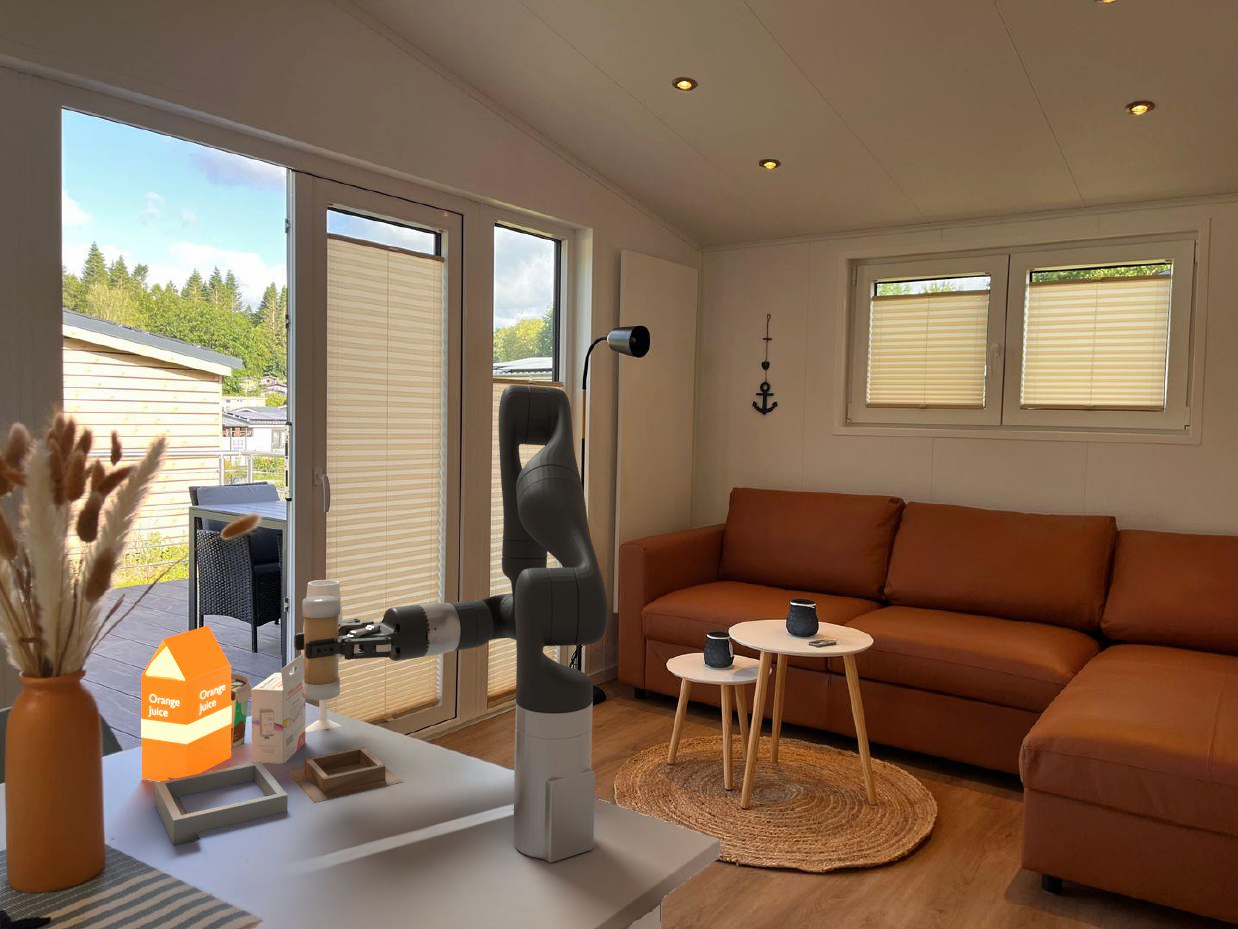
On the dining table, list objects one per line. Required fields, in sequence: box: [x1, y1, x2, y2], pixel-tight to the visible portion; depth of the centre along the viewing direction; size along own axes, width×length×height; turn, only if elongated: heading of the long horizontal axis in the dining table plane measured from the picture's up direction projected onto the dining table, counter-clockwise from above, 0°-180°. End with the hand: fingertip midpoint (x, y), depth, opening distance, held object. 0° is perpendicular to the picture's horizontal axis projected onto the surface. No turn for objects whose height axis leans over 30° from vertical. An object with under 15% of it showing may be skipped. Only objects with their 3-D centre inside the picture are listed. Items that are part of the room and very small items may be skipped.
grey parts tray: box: [154, 761, 288, 846], centre depth 114 cm, size 13×13×3 cm
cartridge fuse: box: [302, 596, 341, 701], centre depth 121 cm, size 5×5×13 cm
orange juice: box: [140, 625, 232, 781], centre depth 126 cm, size 8×9×20 cm
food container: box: [231, 672, 253, 749], centre depth 138 cm, size 12×6×10 cm, turn 66°
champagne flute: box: [300, 579, 344, 734], centre depth 143 cm, size 7×7×24 cm
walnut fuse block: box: [287, 746, 404, 804], centre depth 123 cm, size 12×12×3 cm
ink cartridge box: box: [250, 654, 306, 764], centre depth 131 cm, size 9×5×15 cm, turn 179°
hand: (300, 646), depth 119 cm, fingers closed on cartridge fuse, 4 cm apart
